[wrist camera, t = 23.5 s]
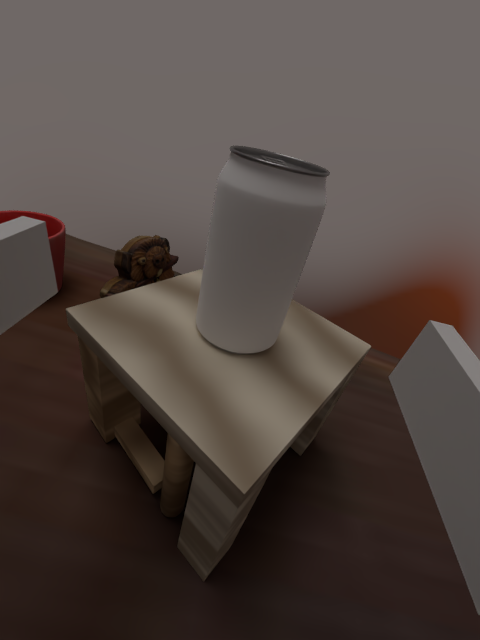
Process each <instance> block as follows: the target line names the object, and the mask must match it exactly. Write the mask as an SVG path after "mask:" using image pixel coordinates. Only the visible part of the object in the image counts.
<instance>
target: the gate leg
mask: <svg viewBox="0 0 480 640" xmlns="http://www.w3.org/2000/svg"><path fill="white" fill-rule="evenodd" d="M78 340H79V347H80V354H81V361H82V367H83V374H84V381H85V387H86V394H87V401H88V407H89V414H90V418H91V420H92V421H93V423H94V425H95V426H96V428H97V429H98V431H99V433H100V434H101V436H102V437H103V439H104V441H105V442H106V443H107V442H109V441H111V440H113V439H114V438H117V439H118V441H119V442H120V444H121V446H122V447H123V449H124V450H125V452H126V453H127V455H128V456H129V458H130V459H131V461H132V462H133V464H134V465H135V467H136V469H137V470H138V472H139V473H140V475H141V476H142V478H143V479H144V481H145V482H146V484H147V485H148V487H149V488H150V490H151V492H152V493H153V494H154V493H156V492H157V491H158V490H159V489H161V488H162V491H161V500H160V509H161V512H162V513H163V514H164V515H165V516H166V517H171V518H172V517H176V516H178V515H179V514H180V513H181V512H182V510H183V508H184V505H185V500H186V495H187V491H188V486H189V482H190V477H191V473H192V468H193V463H194V461H193V459H192V458H191V457H190V456H189V455H188V454H187V453H186V452H185V451H184V450H183V449H182V448H181V446H180V445H179V444H178V443H177V442H176V441H175V440H174V439H173V438H172V437H171V436H170V435H169V434H168V435H167V445H166V454H165V461H164V459H163V458H162V457H161V455H160V454H159V453H158V451H157V450H156V448H155V447H154V446H153V444H152V443H151V441H150V440H149V439H148V437H147V436H146V435H145V433H144V432H143V430H142V429H141V428H140V426H139V424H140V423H141V403H140V402H139V401H138V400H137V399H136V398H135V397H134V396H133V395H132V394H131V392H130V391H129V390H128V389H127V388H126V387H125V386H124V385H123V384H122V383H121V382H120V381H119V379H118V378H117V377H116V376H115V375H114V374H113V373H112V372H111V371H110V370H109V369H108V368H107V367H106V365H105V364H104V363H103V362H102V361H101V360H100V359H99V358H98V357H97V356H96V355H95V354H94V352H93V351H92V350H91V349H90V348H89V347H88V346H87V345H86V344H85V343H84V342H83V341H82V339H81V338H80V337H79V336H78Z"/></svg>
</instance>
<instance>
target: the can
mask: <svg viewBox="0 0 480 640" xmlns="http://www.w3.org/2000/svg"><path fill="white" fill-rule="evenodd" d="M230 151H231V154H230V158H229V159H228V161H227V163H226V164H225V166H224V167H223V169H222V170H221V172H220V174H219V176H218V180H217V185H216V191H215V197H214V203H213V209H212V215H211V222H210V228H209V234H208V241H207V247H206V254H205V261H204V267H203V274H202V280H201V287H200V294H199V300H198V307H197V315H196V325H197V328H198V330H199V331H200V333H201V334H202V335H203V336H204V338H205V339H206V340H207V341H208V342H210V343H211V344H212V345H214V346H215V347H217V348H219V349H221V350H224V351H226V352H229V353H233V354H254V353H259V352H261V351H264V350H266V349H268V348H270V347H271V346H272V345H273V344H274V343H275V342H276V340H277V337H278V335H279V332H280V330H281V327H282V325H283V322H284V319H285V317H286V314H287V311H288V309H289V306H290V303H291V301H292V298H293V295H294V292H295V289H296V287H297V284H298V282H299V279H300V276H301V273H302V271H303V268H304V265H305V263H306V260H307V257H308V254H309V252H310V249H311V246H312V243H313V240H314V238H315V235H316V232H317V230H318V227H319V224H320V221H321V218H322V215H323V212H324V209H325V205H326V189H325V182H326V177H327V176H328V175H329V174H330V172H329V171H328V170H326V169H324V168H322V167H320V166H317V165H315V164H312V163H309V162H306V161H303V160H300V159H297V158H293V157H289V156H286V155H282V154H278V153H274V152H270V151H266V150H261V149H256V148H251V147H245V146H244V147H243V146H231V147H230Z"/></svg>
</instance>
